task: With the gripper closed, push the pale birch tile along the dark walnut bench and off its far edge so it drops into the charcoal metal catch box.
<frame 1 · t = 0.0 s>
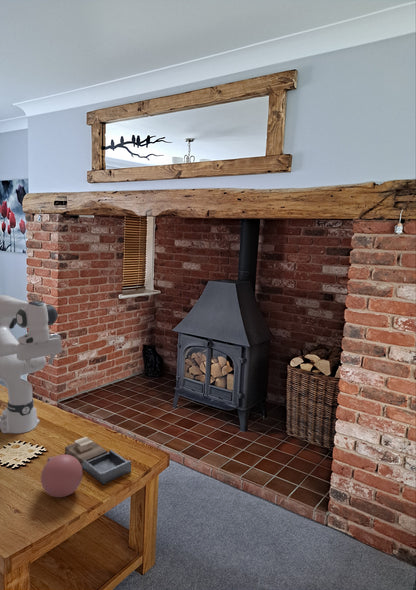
hand: (41, 366, 197), 39 cm above the table, tool pointing down, fingers open, 8 cm apart
catch box: (106, 470, 185), on the table
balloon: (60, 490, 170), on the table
tile: (83, 447, 197), point 3 cm above the table, touching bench
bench: (86, 455, 196), on the table
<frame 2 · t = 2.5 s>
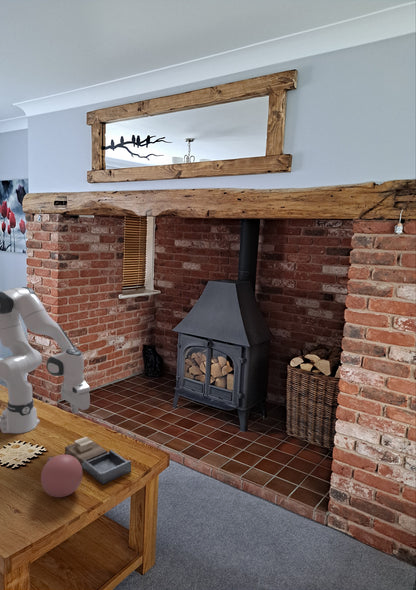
hand: (75, 412, 199), 17 cm above the table, tool pointing down, fingers closed
nothing on the table moved.
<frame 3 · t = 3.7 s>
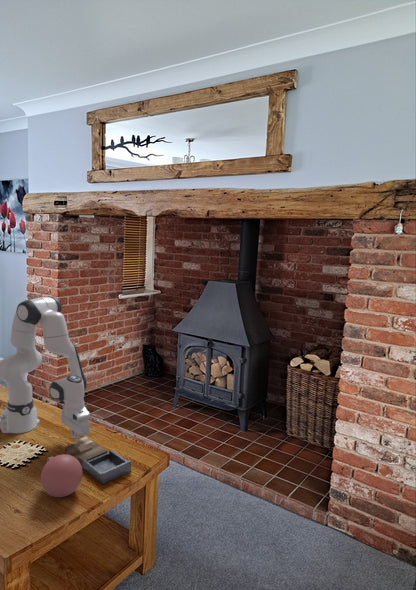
hand: (74, 437, 202), 5 cm above the table, tool pointing down, fingers closed
nothing on the table moved.
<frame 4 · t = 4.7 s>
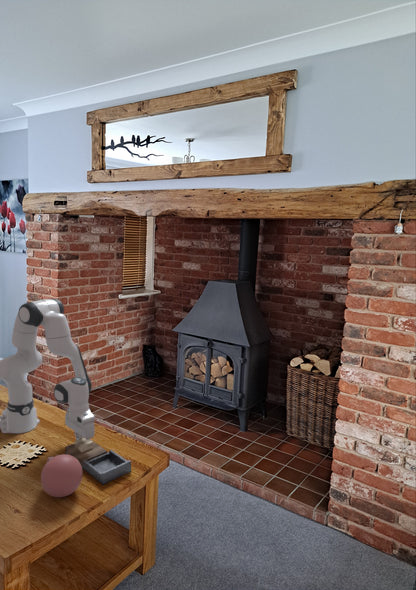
hand: (79, 440, 199), 5 cm above the table, tool pointing down, fingers closed
tile: (84, 447, 196), point 3 cm above the table, touching gripper
everything else where it was.
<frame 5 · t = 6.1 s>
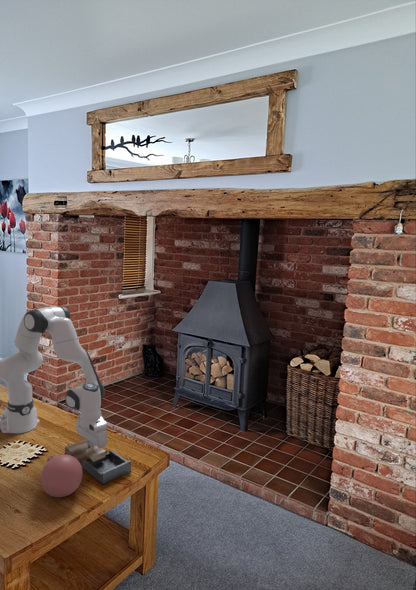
hand: (90, 448, 193), 5 cm above the table, tool pointing down, fingers closed
tile: (95, 456, 190), point 3 cm above the table, touching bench, gripper
everything else where it was.
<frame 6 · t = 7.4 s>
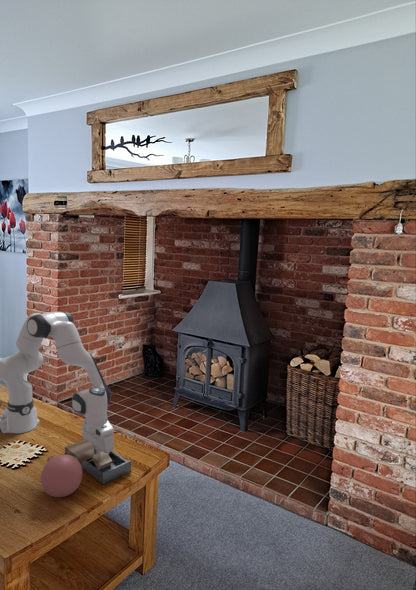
hand: (97, 453, 189), 4 cm above the table, tool pointing down, fingers closed
tile: (101, 462, 187), point 2 cm above the table, tilted 27°, touching catch box, gripper
everything else where it was.
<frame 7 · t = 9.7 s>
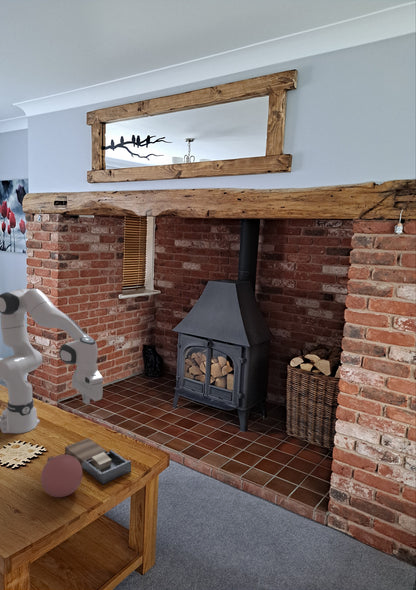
hand: (86, 403, 192), 25 cm above the table, tool pointing down, fingers closed
tile: (101, 464, 187), point 1 cm above the table, tilted 10°, touching catch box
everything else where it was.
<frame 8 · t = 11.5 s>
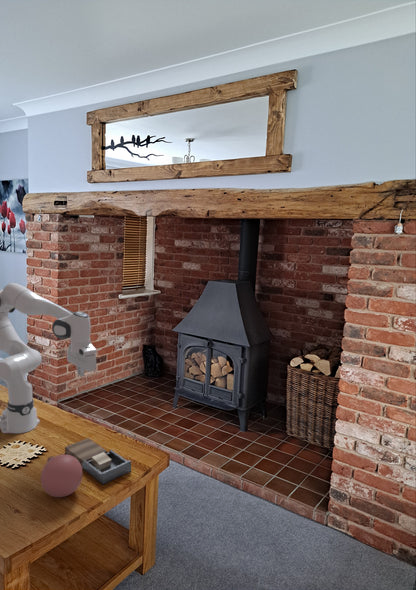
hand: (80, 375, 200), 34 cm above the table, tool pointing down, fingers closed
nothing on the table moved.
at the end: tile inside the target area on the catch box (4.0 cm from its centre), point 1.1 cm above the catch box's base; tile point 1.1 cm above the table; the gripper is holding nothing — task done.
